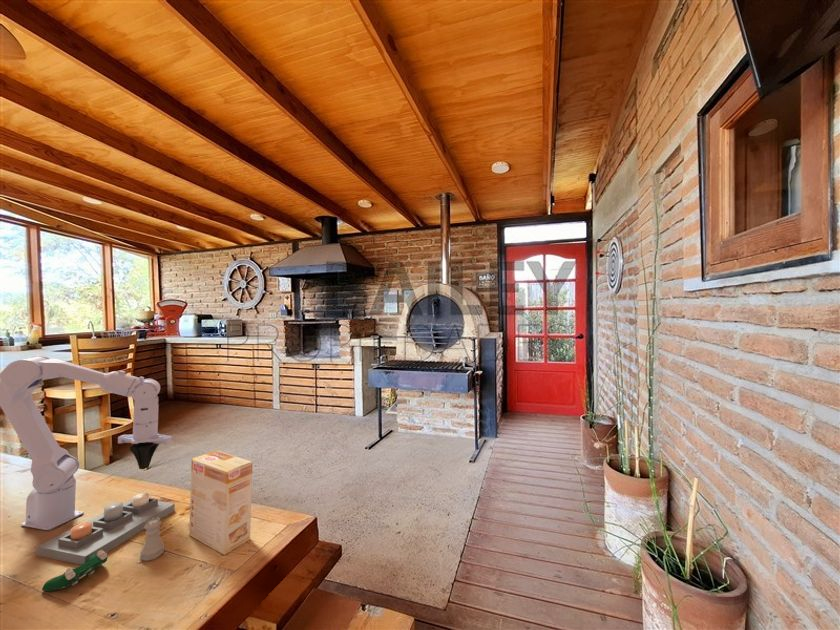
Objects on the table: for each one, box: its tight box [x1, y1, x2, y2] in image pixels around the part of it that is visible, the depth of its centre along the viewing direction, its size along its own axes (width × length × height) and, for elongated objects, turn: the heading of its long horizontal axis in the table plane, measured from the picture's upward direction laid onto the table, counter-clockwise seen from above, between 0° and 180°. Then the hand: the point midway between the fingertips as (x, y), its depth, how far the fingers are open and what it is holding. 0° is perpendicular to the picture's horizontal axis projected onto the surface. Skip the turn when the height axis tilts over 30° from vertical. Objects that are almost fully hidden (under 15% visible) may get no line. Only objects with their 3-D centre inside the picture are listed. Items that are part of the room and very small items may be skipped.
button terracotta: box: [70, 521, 92, 541], centre depth 80 cm, size 4×4×3 cm
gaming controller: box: [41, 550, 109, 592], centre depth 72 cm, size 9×4×6 cm
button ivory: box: [131, 492, 150, 508], centre depth 94 cm, size 4×4×3 cm
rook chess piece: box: [139, 517, 165, 562], centre depth 79 cm, size 4×4×8 cm
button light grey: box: [103, 502, 124, 522], centre depth 87 cm, size 4×4×3 cm
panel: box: [35, 496, 176, 566], centre depth 87 cm, size 14×22×4 cm, turn 169°
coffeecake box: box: [188, 450, 254, 556], centre depth 86 cm, size 15×7×20 cm, turn 62°
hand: (144, 467), depth 100 cm, fingers closed
